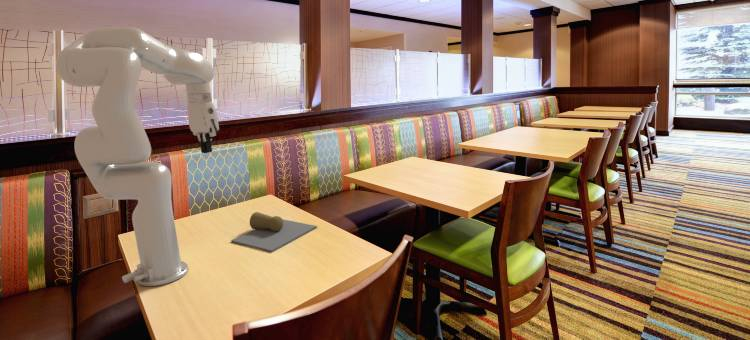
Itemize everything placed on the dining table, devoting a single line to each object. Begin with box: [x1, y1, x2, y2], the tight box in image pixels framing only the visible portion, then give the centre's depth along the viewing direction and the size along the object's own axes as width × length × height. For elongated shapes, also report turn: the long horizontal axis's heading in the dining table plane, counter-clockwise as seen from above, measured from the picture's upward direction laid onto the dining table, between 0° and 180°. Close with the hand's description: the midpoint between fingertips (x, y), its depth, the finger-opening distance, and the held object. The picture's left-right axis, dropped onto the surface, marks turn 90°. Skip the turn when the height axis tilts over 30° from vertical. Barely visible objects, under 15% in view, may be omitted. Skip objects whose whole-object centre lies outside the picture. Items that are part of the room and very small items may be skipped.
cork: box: [249, 211, 284, 231], centre depth 137 cm, size 6×6×11 cm
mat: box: [230, 218, 318, 253], centre depth 134 cm, size 22×18×1 cm
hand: (206, 152), depth 139 cm, fingers closed
